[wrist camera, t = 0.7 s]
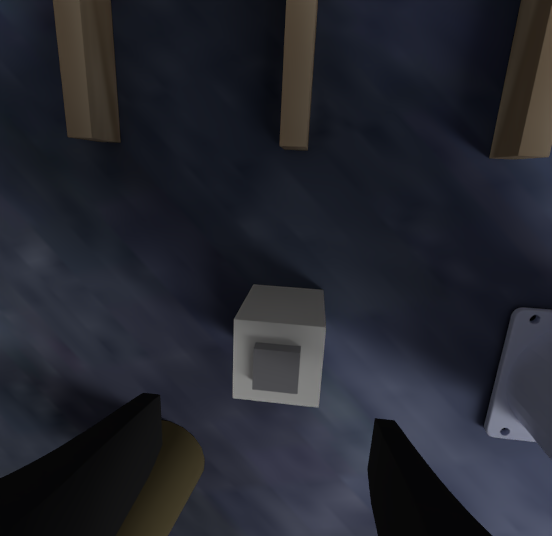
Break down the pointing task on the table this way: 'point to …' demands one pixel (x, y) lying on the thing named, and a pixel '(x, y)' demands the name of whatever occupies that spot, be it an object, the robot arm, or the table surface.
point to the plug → (279, 345)
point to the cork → (166, 484)
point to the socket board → (301, 77)
